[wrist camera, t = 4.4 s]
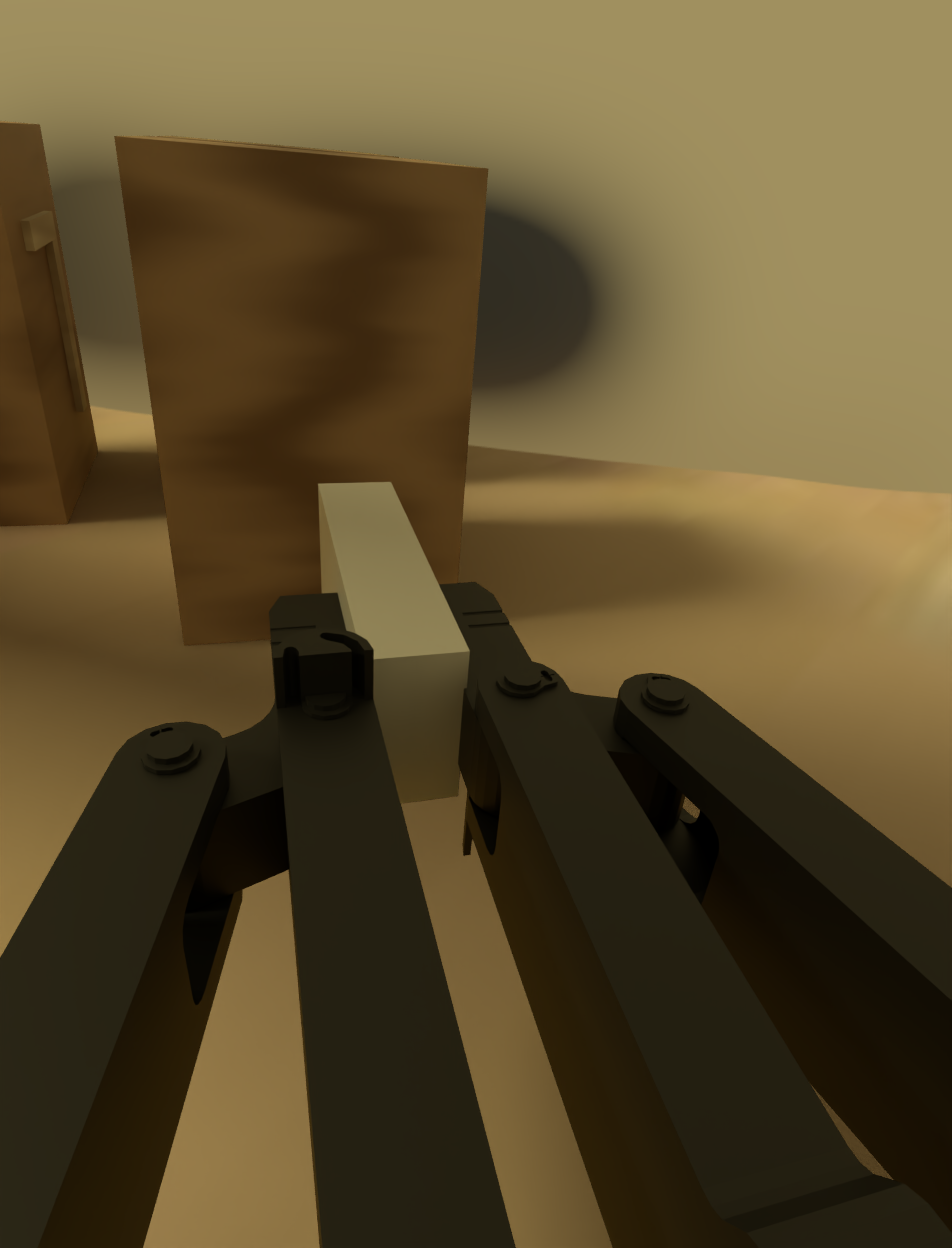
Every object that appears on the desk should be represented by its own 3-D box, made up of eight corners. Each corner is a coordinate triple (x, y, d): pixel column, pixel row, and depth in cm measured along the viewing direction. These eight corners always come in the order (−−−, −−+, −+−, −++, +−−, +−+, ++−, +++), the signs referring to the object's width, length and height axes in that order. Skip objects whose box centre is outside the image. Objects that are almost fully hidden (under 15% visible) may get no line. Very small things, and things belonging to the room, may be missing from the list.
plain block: (184, 645, 25) (114, 136, 18) (194, 529, 32) (148, 136, 25) (454, 626, 27) (488, 168, 20) (407, 522, 35) (419, 159, 28)
